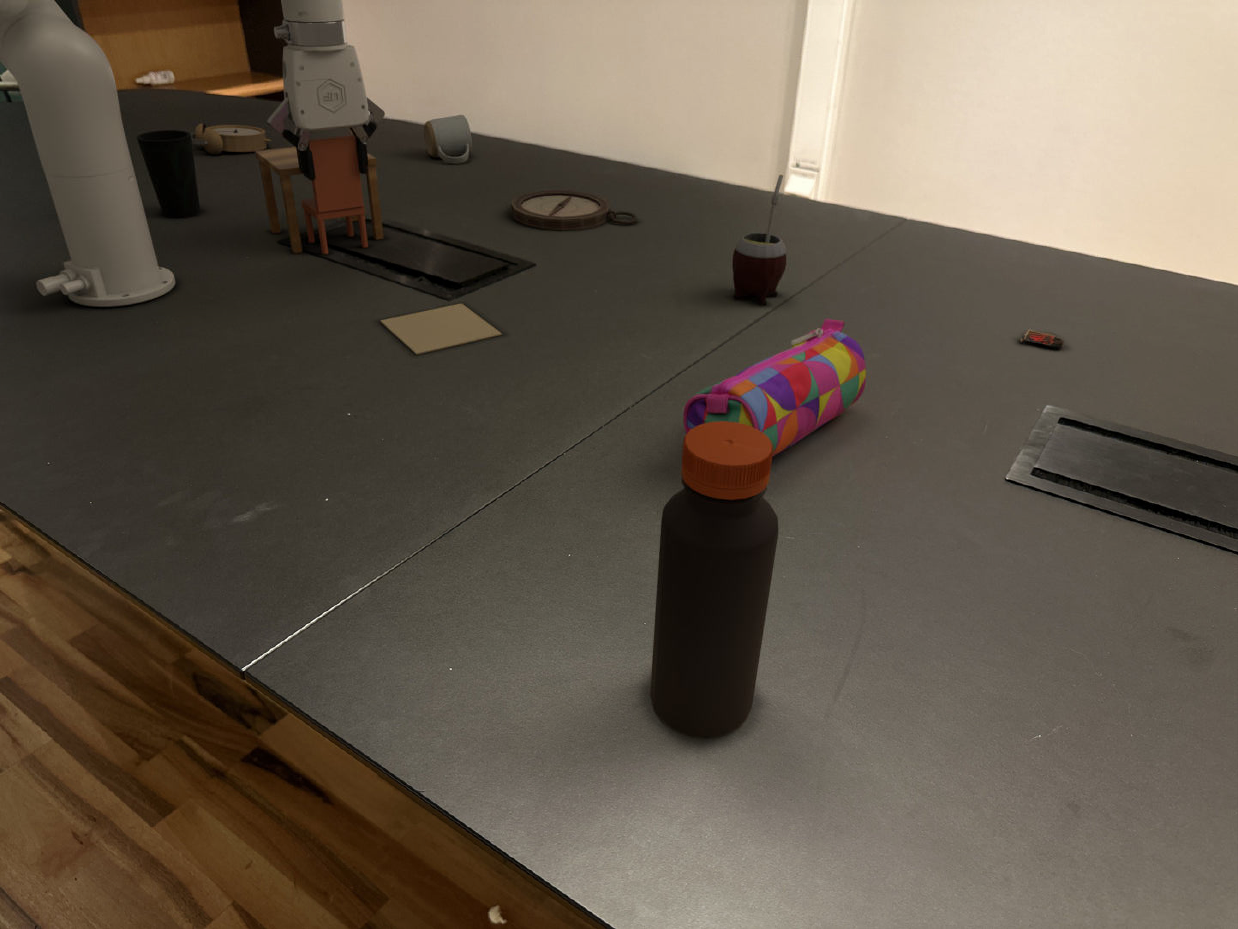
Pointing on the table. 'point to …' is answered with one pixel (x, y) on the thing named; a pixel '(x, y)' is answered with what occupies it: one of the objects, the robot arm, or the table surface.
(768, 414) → the pencil case
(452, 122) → the ceramic mug
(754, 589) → the bottle
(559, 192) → the compass
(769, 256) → the mate gourd
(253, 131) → the alarm clock
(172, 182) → the cup
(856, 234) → the table surface
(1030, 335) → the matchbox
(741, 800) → the table surface
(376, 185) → the side table
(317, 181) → the chair
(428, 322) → the mat
